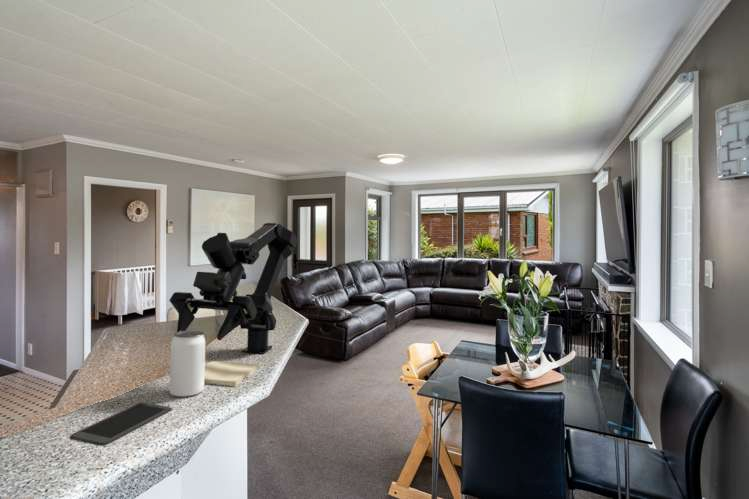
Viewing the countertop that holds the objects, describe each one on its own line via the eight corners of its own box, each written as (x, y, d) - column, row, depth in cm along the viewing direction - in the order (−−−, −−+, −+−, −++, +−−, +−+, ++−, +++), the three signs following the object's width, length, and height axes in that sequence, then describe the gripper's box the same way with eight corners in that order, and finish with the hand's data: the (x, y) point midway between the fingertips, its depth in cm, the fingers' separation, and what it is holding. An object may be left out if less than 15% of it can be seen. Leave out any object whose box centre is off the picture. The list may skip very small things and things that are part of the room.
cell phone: (67, 440, 62) (67, 435, 62) (141, 405, 75) (141, 401, 75) (104, 448, 60) (104, 443, 60) (173, 411, 73) (174, 407, 73)
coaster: (212, 364, 99) (213, 360, 99) (258, 368, 98) (258, 364, 97) (183, 381, 87) (183, 376, 87) (235, 386, 86) (235, 381, 86)
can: (190, 399, 78) (192, 338, 78) (162, 395, 79) (163, 335, 79) (210, 387, 84) (212, 331, 84) (183, 384, 86) (185, 329, 85)
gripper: (176, 256, 91) (140, 312, 80) (253, 260, 89) (226, 318, 78) (194, 287, 99) (164, 342, 88) (266, 292, 97) (243, 348, 86)
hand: (198, 337), depth 85 cm, fingers open, 9 cm apart
